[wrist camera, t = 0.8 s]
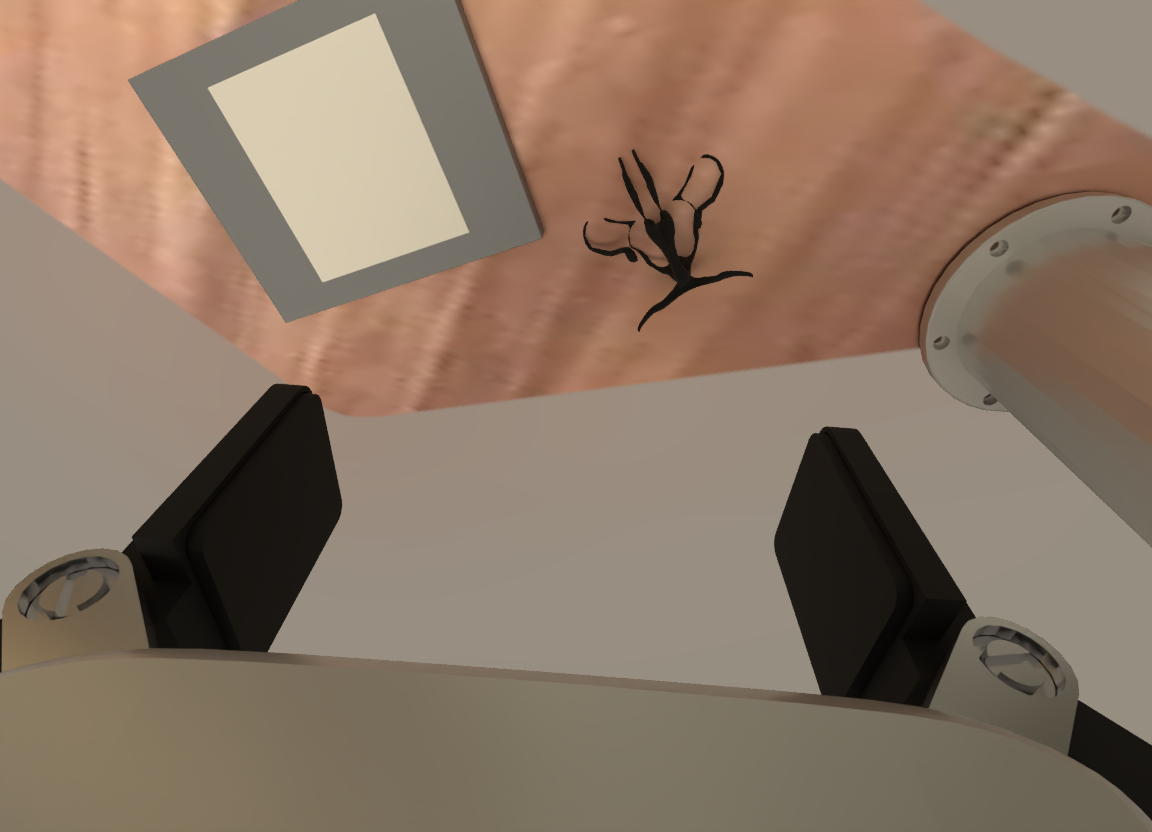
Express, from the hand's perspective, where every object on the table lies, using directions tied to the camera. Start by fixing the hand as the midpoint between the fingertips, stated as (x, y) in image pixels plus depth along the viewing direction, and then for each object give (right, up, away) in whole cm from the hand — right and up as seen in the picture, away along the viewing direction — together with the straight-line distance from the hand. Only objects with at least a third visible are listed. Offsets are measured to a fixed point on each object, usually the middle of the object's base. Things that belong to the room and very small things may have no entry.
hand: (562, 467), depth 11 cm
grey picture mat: (-11, +14, +19) cm, 26 cm away
